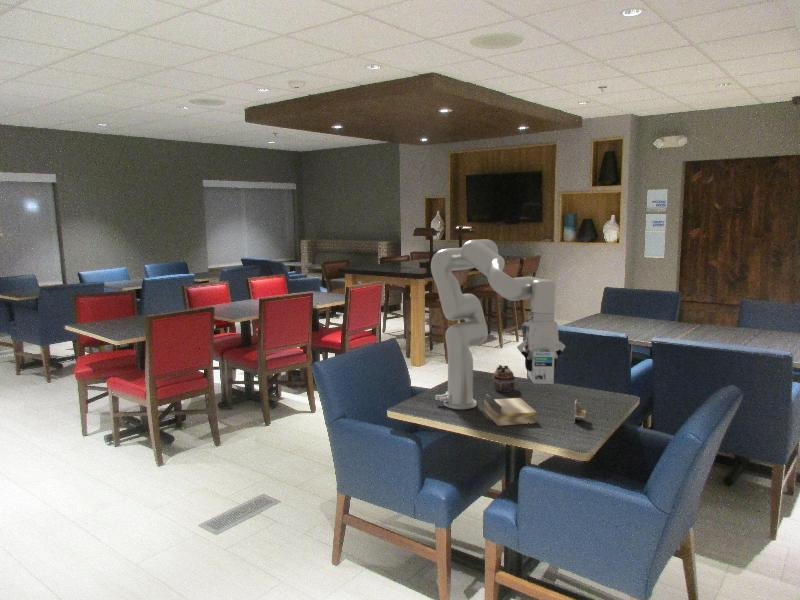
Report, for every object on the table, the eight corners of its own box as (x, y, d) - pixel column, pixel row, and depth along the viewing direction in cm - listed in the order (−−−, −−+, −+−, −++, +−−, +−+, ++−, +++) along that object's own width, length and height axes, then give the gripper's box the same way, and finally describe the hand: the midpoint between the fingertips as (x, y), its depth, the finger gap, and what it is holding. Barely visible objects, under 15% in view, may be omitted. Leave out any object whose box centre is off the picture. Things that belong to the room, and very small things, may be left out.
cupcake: (516, 393, 239) (517, 369, 237) (492, 392, 240) (492, 368, 238) (514, 386, 248) (515, 363, 246) (491, 385, 249) (492, 362, 248)
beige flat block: (497, 425, 202) (498, 407, 201) (483, 410, 218) (484, 393, 217) (536, 423, 204) (536, 405, 203) (519, 408, 220) (520, 391, 219)
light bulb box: (554, 384, 189) (555, 351, 187) (533, 384, 189) (534, 351, 188) (546, 374, 200) (547, 344, 198) (526, 374, 200) (527, 344, 198)
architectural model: (585, 420, 208) (586, 400, 207) (584, 427, 202) (584, 406, 201) (575, 419, 209) (575, 399, 208) (573, 425, 203) (574, 405, 202)
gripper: (521, 320, 186) (519, 374, 189) (572, 318, 189) (570, 371, 192) (513, 315, 193) (511, 367, 196) (562, 314, 196) (560, 365, 199)
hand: (540, 369), depth 194 cm, fingers closed on light bulb box, 7 cm apart
